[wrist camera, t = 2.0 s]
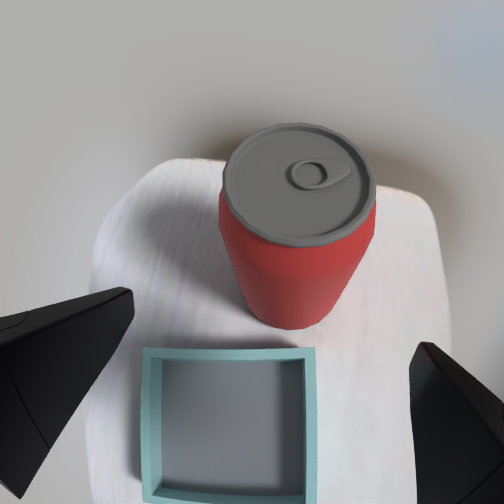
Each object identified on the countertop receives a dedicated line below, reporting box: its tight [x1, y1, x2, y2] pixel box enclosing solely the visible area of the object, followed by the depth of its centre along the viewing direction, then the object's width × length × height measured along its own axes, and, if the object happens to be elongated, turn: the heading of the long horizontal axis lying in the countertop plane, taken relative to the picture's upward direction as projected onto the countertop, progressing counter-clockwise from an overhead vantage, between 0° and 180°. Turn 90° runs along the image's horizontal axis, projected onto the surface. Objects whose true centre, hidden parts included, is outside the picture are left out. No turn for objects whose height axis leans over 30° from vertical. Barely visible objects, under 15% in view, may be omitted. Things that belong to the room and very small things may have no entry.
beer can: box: [219, 123, 376, 330], centre depth 16 cm, size 7×7×12 cm
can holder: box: [140, 347, 317, 504], centre depth 17 cm, size 10×10×3 cm
